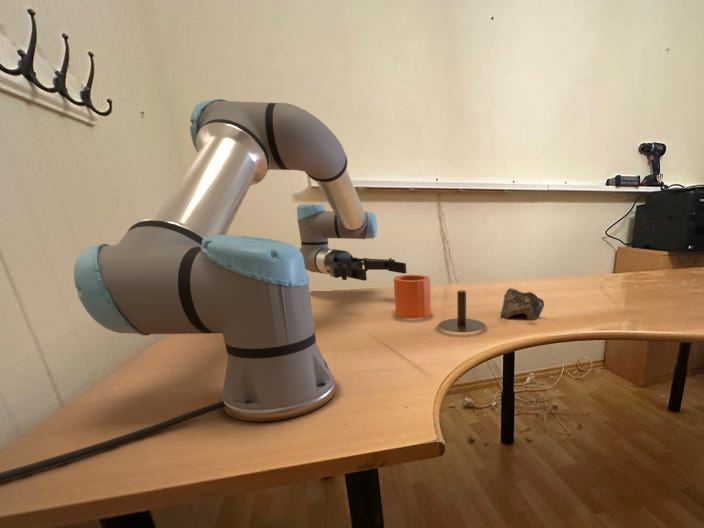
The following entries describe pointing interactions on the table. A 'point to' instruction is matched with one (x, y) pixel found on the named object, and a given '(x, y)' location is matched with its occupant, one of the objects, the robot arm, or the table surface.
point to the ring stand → (461, 318)
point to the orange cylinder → (412, 296)
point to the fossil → (521, 304)
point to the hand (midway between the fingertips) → (386, 271)
